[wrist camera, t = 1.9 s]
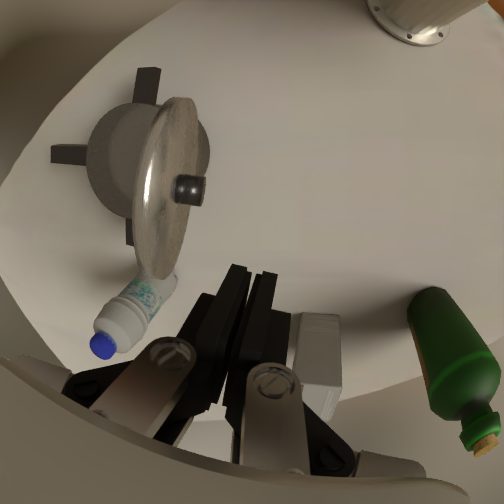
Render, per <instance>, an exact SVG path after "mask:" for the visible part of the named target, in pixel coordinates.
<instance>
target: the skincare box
mask: <svg viewBox="0 0 504 504" xmlns="http://www.w3.org/2000/svg"><path fill="white" fill-rule="evenodd" d="M292 371H293V372H295V374H296V375H297V376H298V378H299V380H300V383H301V390H302V399H303V401H304V402H305V403H306V404H307V406H308V407H309V408H310V409H312V410H313V411H314V412H315V413H316V414H317V415H318V416H319V417H320V418H321V419H322V420H323V421H330V419H331V417H332V415H333V412H334V410H335V407H336V405H337V402H338V399H339V397H340V394H341V391H342V388H343V387H342V365H341V339H340V320H339V316H338V315H327V314H315V313H302V315H301V321H300V327H299V333H298V339H297V345H296V351H295V356H294V362H293V367H292Z"/></svg>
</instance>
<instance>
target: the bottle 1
mask: <svg viewBox="0 0 504 504" xmlns="http://www.w3.org/2000/svg"><path fill="white" fill-rule="evenodd" d="M177 281H178V279H177V276H176V275H174V269H173V270H172V272H171V274H170V275H169V276H168V277H167V278H166V279H165V280H159V279H153V278H148V277H146V276H145V275H144V274H143V273H142V271H140V272H139V274H138V275H137V276H136V277H135V279H134V280H133V281H132V282H131V283H130V284H129V285H128V286H127V287H126V288H125V289H124V290H123V291H122V292H121V293H120V294H119V295H118V296H117V297H114V298H112V299H111V300H110V301H109V302H108V303H106V304H105V305H104V307H103V308H102V310H101V312H100V313H99V315H98V316H97V318H96V319H95V321H94V325H93V327H94V331H95V335H94V336H93V337H92V338H91V340H90V348H91V350H92V352H93V353H94V354H95V355H96V356H97V357H99V358H101V359H103V360H108V359H110V358H111V357H112V356H113V355H114V353H115V352H117V353H127V352H128V351H130V350H131V349H132V348H133V346H134V345H135V344H136V343H137V342H138V341H140V340H141V339H142V337H143V335H144V333H145V332H146V331H147V327H148V324H149V323H150V321H151V320H152V318H153V317H154V316H155V314H156V313H157V312H158V310H159V309H160V307H161V306H162V305H163V304H164V303H165V302H166V300H167V299H168V298H169V297H170V296H171V295H172V293H173V292H174V290H175V288H176V285H177Z"/></svg>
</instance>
